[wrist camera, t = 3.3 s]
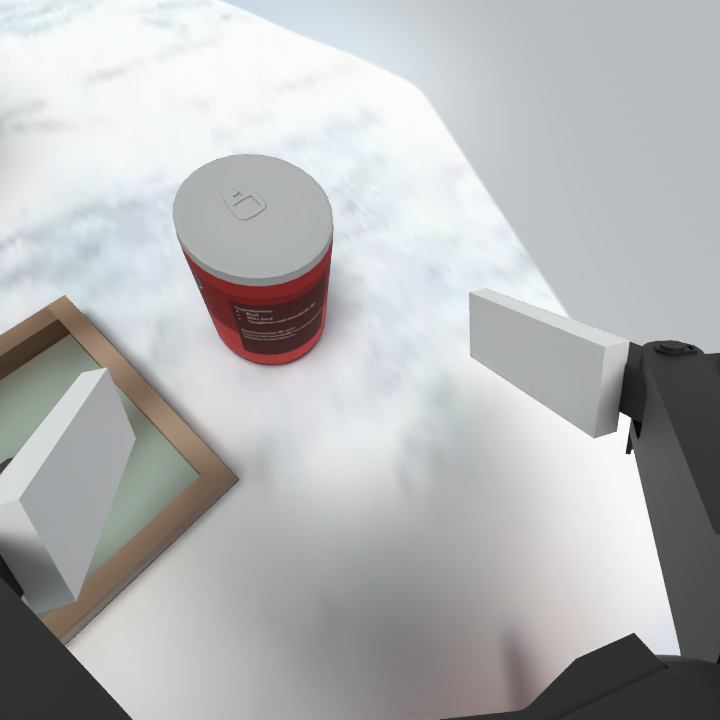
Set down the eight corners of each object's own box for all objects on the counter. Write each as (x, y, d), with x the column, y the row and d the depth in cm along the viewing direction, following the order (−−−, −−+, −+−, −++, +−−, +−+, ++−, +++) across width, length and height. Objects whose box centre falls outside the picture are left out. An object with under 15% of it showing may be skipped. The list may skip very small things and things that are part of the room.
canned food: (256, 257, 33) (234, 130, 23) (344, 307, 32) (363, 199, 22) (191, 331, 30) (133, 223, 19) (288, 388, 29) (279, 307, 19)
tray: (-184, 488, 23) (-235, 482, 21) (82, 313, 29) (64, 295, 27) (-22, 728, 20) (-62, 750, 18) (238, 479, 26) (232, 474, 24)
